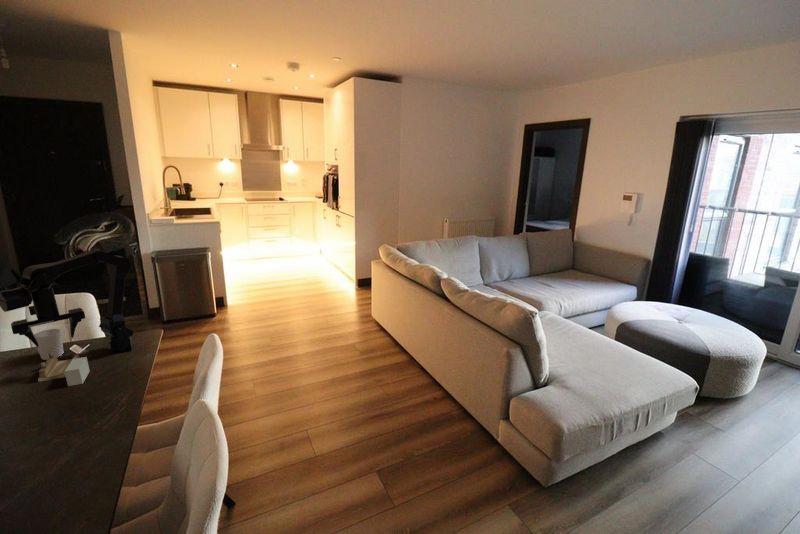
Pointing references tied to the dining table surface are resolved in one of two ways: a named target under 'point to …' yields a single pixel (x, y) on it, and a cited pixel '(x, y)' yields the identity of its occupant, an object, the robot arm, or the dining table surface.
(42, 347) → the white cup
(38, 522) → the dining table surface
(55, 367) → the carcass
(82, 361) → the light grey block
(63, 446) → the dining table surface
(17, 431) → the dining table surface
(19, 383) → the dining table surface
